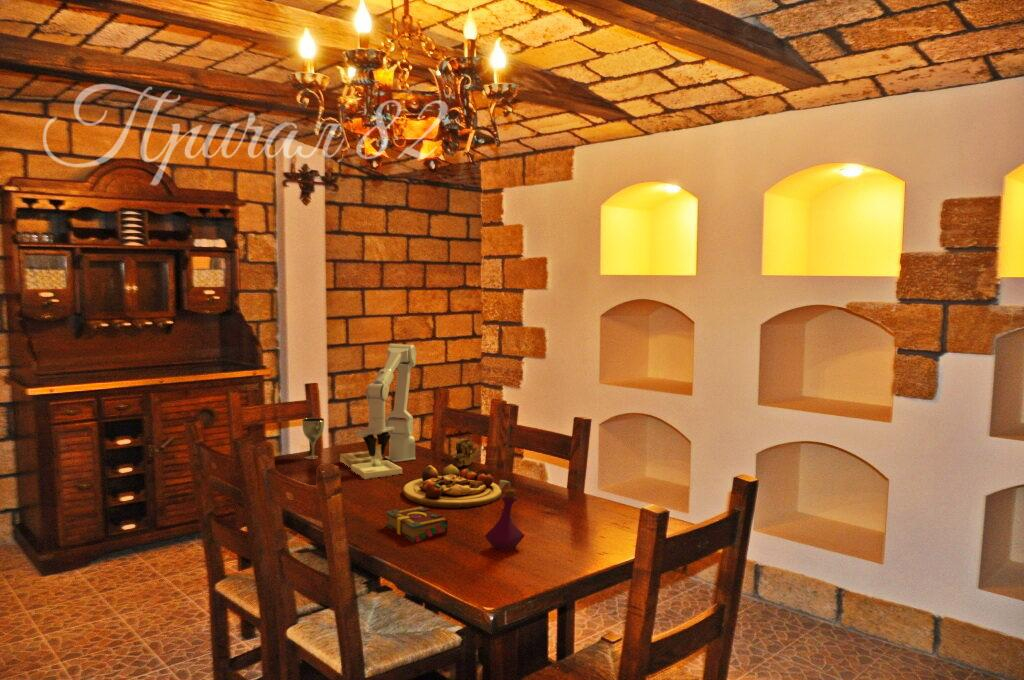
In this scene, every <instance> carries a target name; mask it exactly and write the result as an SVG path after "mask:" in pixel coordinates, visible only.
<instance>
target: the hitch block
mask: <svg viewBox="0 0 1024 680" xmlns="http://www.w3.org/2000/svg"><path fill="white" fill-rule="evenodd" d="M381 461H384V457H383V456H382V457H381ZM339 462H340V463H341V462H342V463H344V464H345V465H344V464H343V465H344V466H346V465H347V466H348V467H347V466H346V467H347V468H349V467H350V468H351V465H353V464H361V463H369V462H371V456H370V455H369V451H368V450H365V451H357V452H348V453H340V454H339ZM342 463H341V464H342ZM350 468H349V469H350Z"/></svg>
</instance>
